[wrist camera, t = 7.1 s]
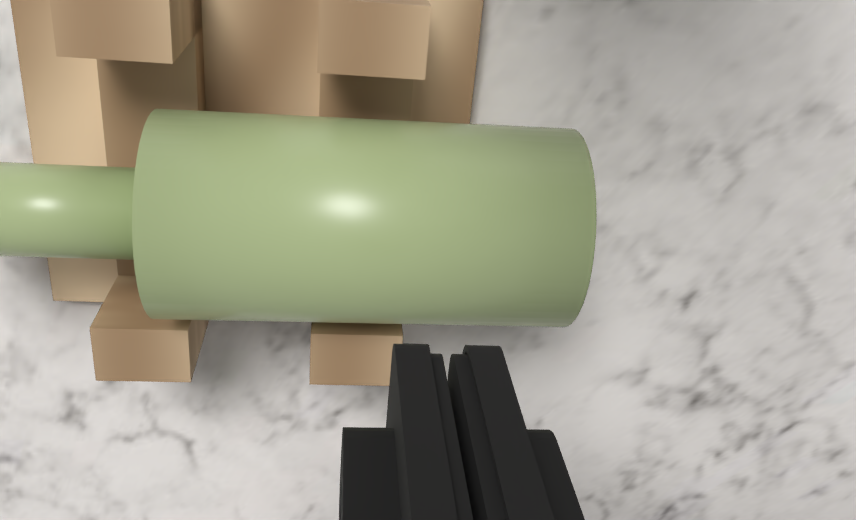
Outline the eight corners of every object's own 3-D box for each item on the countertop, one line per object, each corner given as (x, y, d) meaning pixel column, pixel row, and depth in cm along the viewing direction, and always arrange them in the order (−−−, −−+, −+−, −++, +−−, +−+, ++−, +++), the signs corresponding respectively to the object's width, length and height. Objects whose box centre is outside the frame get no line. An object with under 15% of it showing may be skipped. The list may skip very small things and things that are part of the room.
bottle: (611, 186, 17) (-209, 152, 15) (569, 368, 20) (-134, 358, 18) (559, 98, 21) (-88, 64, 19) (530, 258, 24) (-41, 241, 22)
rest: (480, -20, 22) (513, 12, 17) (445, 299, 26) (464, 387, 22) (15, -57, 20) (-74, -32, 16) (61, 287, 25) (2, 378, 21)
